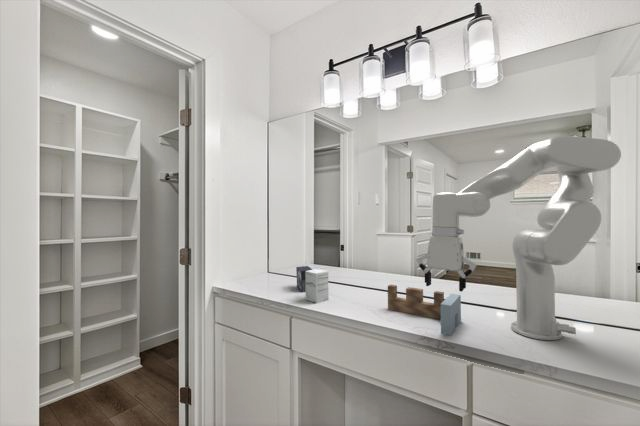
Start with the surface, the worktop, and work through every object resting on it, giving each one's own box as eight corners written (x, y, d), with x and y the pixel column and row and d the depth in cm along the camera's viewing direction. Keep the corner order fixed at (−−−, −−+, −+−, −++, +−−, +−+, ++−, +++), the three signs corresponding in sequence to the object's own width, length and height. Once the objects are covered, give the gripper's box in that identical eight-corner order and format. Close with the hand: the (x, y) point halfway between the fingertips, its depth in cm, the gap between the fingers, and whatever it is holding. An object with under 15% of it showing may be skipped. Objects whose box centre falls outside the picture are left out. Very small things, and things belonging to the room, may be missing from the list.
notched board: (444, 317, 104) (443, 292, 104) (442, 319, 102) (441, 293, 102) (390, 307, 116) (390, 284, 115) (387, 309, 113) (387, 285, 113)
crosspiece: (460, 321, 100) (460, 294, 100) (451, 335, 89) (450, 305, 89) (451, 319, 102) (451, 293, 102) (440, 333, 91) (440, 303, 91)
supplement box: (305, 299, 127) (304, 270, 127) (317, 296, 132) (317, 268, 132) (316, 303, 121) (315, 273, 121) (329, 300, 126) (328, 270, 126)
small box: (295, 287, 149) (295, 266, 149) (308, 286, 151) (308, 265, 151) (300, 292, 139) (300, 270, 139) (314, 291, 141) (313, 269, 141)
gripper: (478, 233, 89) (477, 290, 89) (421, 230, 99) (420, 281, 99) (474, 234, 83) (473, 295, 83) (413, 231, 93) (412, 285, 93)
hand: (444, 287), depth 91 cm, fingers open, 9 cm apart
